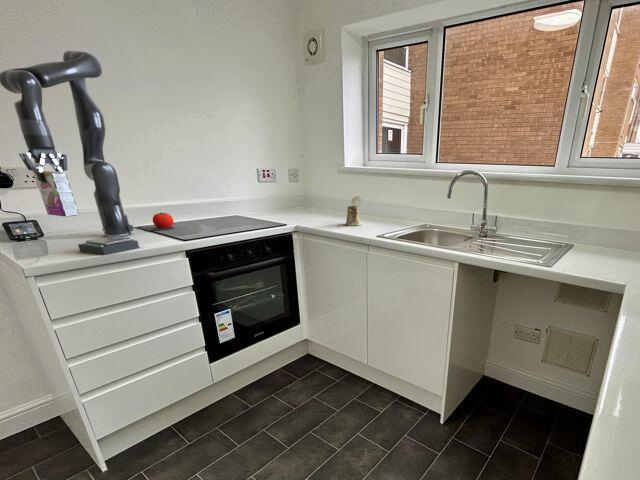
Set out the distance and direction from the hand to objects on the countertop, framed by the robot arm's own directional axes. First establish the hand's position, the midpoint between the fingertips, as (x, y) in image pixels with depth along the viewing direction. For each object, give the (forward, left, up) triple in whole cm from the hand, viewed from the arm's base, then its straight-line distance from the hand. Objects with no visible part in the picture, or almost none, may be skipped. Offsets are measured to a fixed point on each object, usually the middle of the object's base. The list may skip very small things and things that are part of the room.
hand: (52, 182), depth 135 cm
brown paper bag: (-104, +80, -26) cm, 134 cm away
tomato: (-47, -5, -26) cm, 54 cm away
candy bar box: (0, 0, -13) cm, 13 cm away
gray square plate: (-4, +17, -22) cm, 28 cm away
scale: (-3, +17, -25) cm, 31 cm away
